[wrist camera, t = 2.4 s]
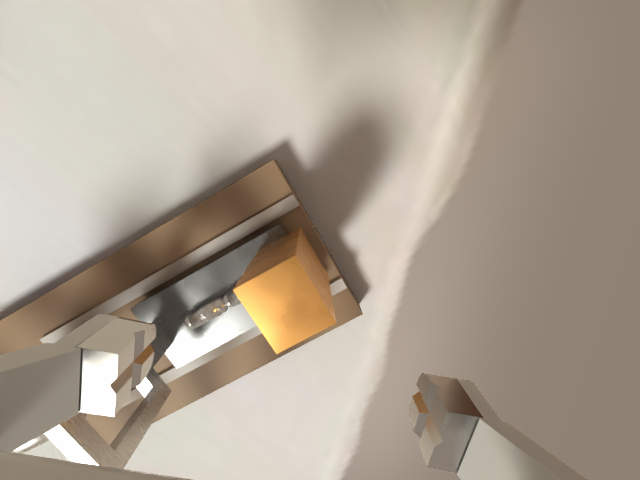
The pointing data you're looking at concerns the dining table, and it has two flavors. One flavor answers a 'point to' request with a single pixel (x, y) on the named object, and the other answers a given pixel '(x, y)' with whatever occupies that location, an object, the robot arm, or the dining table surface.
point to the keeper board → (169, 266)
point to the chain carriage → (215, 325)
